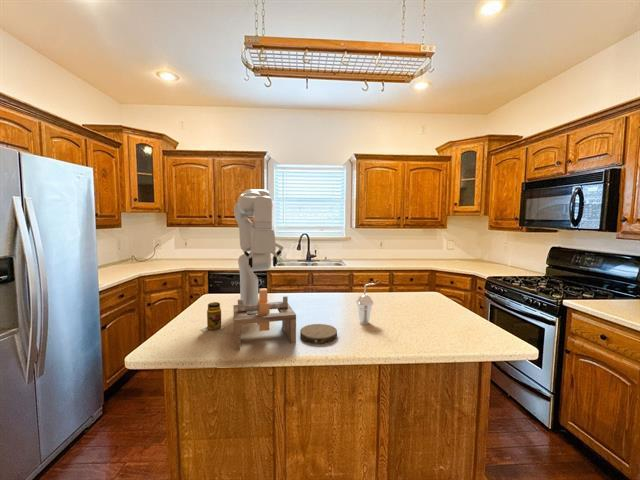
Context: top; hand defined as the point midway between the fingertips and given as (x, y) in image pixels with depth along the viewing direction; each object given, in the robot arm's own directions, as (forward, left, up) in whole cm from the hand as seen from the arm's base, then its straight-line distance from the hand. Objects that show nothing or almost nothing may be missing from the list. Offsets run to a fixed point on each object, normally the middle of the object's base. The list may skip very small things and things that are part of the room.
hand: (262, 266), depth 126 cm
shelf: (0, 0, -31) cm, 31 cm away
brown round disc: (+6, +23, -31) cm, 39 cm away
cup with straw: (-4, +50, -31) cm, 59 cm away
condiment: (-16, -21, -31) cm, 40 cm away
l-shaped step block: (0, 0, -26) cm, 26 cm away
